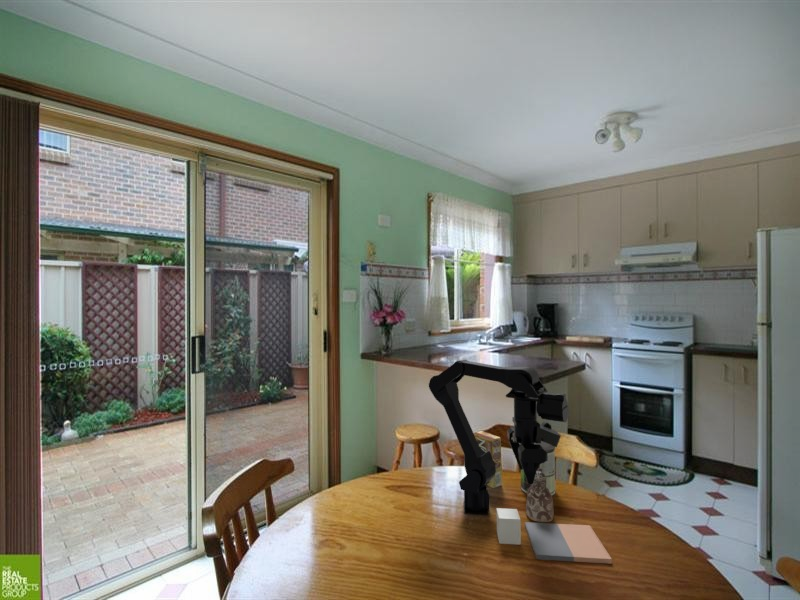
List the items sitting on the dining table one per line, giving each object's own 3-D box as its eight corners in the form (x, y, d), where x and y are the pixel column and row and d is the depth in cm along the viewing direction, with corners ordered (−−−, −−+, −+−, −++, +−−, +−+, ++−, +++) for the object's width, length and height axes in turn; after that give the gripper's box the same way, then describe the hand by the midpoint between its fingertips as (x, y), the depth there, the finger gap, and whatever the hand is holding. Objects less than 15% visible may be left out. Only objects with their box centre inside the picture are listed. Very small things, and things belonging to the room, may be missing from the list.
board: (536, 559, 91) (536, 554, 91) (524, 526, 105) (524, 522, 105) (611, 563, 89) (611, 559, 89) (589, 529, 103) (589, 525, 103)
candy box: (502, 485, 129) (501, 437, 129) (493, 489, 127) (492, 439, 127) (482, 476, 136) (481, 430, 137) (473, 479, 134) (472, 432, 134)
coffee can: (522, 495, 122) (521, 448, 122) (519, 481, 132) (518, 437, 132) (558, 498, 120) (557, 450, 120) (552, 484, 130) (552, 439, 130)
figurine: (522, 517, 109) (521, 472, 110) (530, 506, 115) (529, 463, 115) (549, 525, 105) (548, 478, 106) (556, 513, 111) (555, 469, 111)
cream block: (499, 543, 97) (498, 518, 97) (496, 532, 102) (496, 508, 102) (520, 544, 97) (520, 519, 97) (517, 533, 102) (516, 509, 102)
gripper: (569, 427, 96) (570, 493, 96) (546, 407, 115) (547, 463, 115) (521, 426, 97) (522, 492, 97) (506, 407, 116) (507, 462, 115)
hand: (526, 476), depth 106 cm, fingers open, 9 cm apart
